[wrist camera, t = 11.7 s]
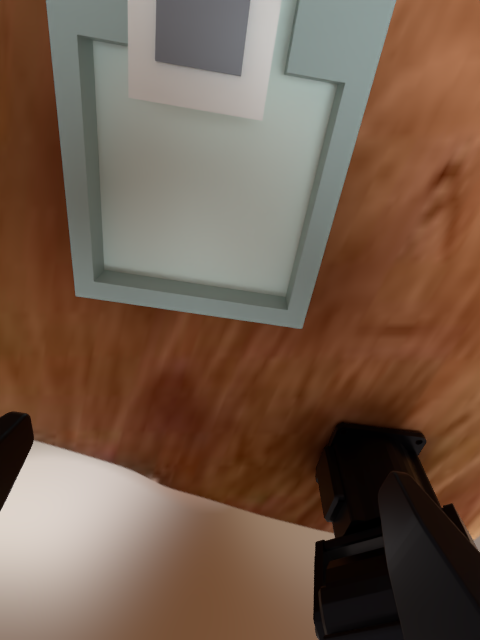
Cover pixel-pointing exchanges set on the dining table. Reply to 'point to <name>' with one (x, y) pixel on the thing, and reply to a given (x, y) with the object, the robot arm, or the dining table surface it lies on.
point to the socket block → (202, 53)
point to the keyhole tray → (210, 165)
